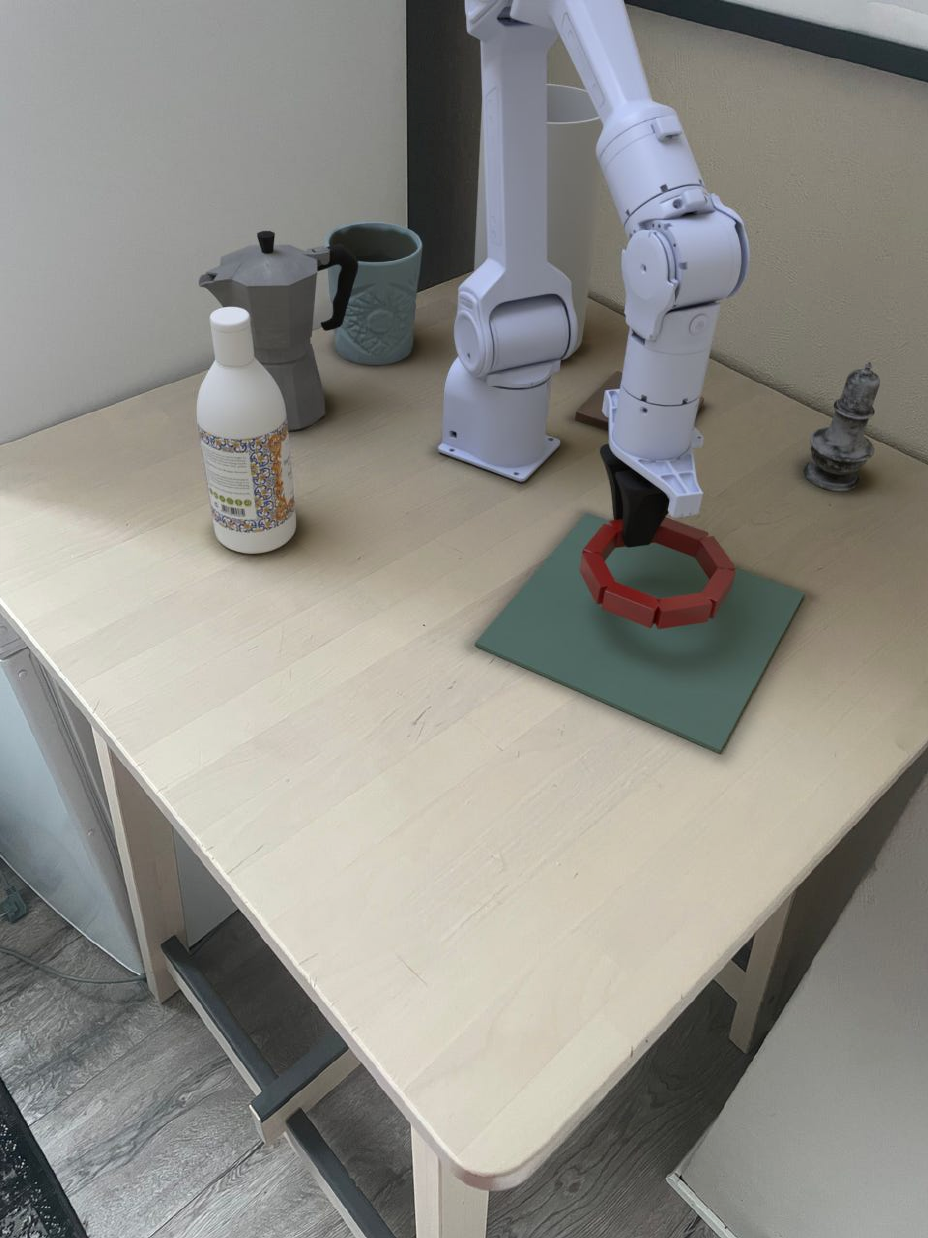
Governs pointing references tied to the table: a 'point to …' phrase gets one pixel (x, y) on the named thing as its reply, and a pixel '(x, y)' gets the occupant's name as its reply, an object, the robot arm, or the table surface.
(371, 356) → the teal embossed mug
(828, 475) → the salt shaker
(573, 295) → the cylinder vase
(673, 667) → the mat
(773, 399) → the table surface
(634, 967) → the table surface
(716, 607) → the ring
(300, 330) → the coffeepot
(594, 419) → the ring holder
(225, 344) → the bath foam
